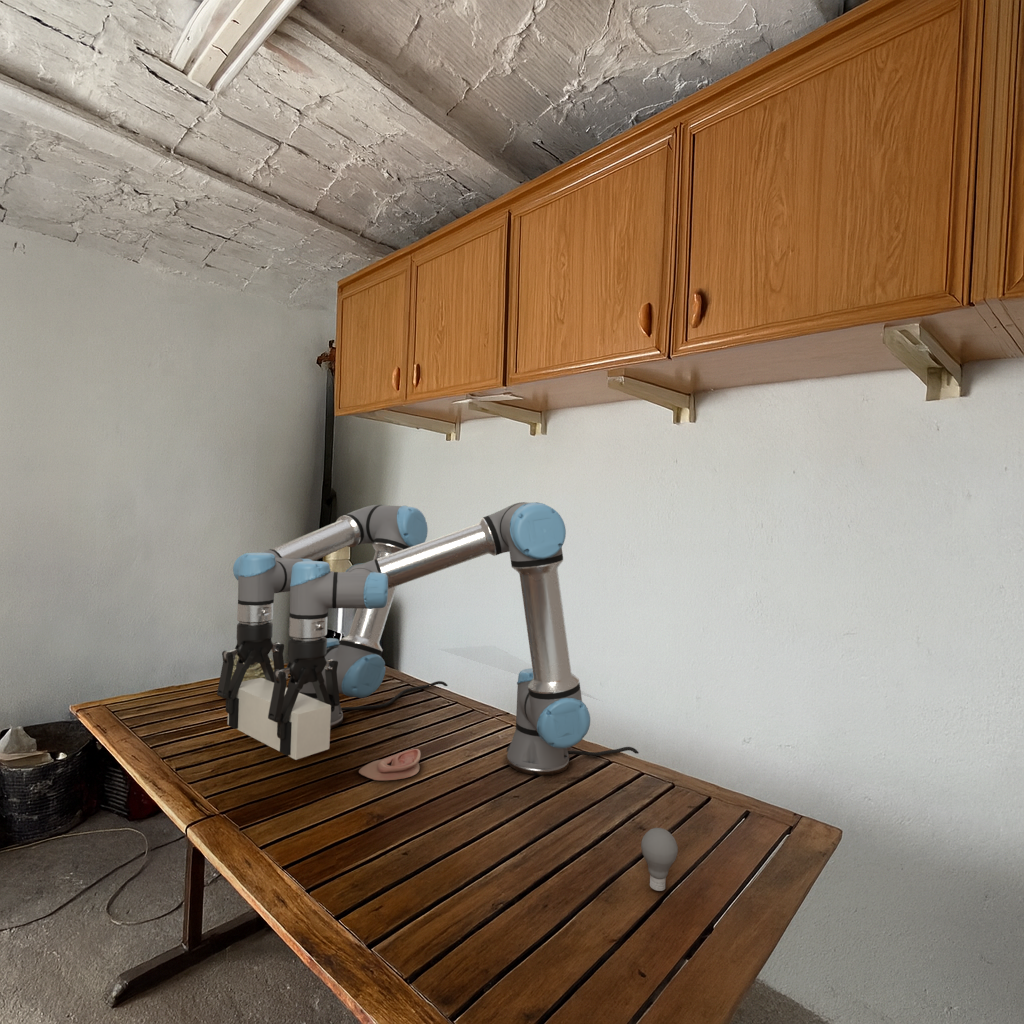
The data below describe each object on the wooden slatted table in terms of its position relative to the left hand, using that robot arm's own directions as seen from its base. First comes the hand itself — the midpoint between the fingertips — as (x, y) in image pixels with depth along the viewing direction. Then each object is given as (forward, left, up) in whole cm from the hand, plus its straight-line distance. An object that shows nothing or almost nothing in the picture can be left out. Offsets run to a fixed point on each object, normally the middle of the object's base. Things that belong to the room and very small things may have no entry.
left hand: (251, 722), depth 143 cm
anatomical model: (-23, +22, -12) cm, 33 cm away
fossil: (-29, -51, -12) cm, 60 cm away
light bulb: (-24, +89, -12) cm, 92 cm away
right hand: (0, +21, 0) cm, 21 cm away
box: (0, +10, -1) cm, 10 cm away
